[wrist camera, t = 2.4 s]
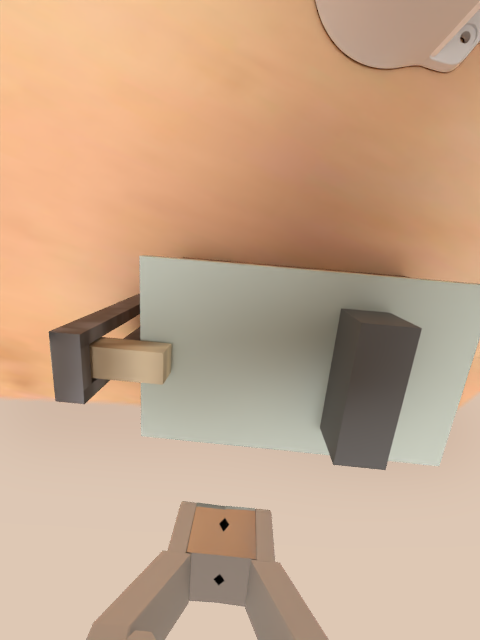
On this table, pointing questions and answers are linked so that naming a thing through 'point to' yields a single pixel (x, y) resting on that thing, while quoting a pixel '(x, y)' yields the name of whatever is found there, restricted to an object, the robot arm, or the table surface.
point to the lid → (307, 359)
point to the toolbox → (76, 336)
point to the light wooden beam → (130, 360)
